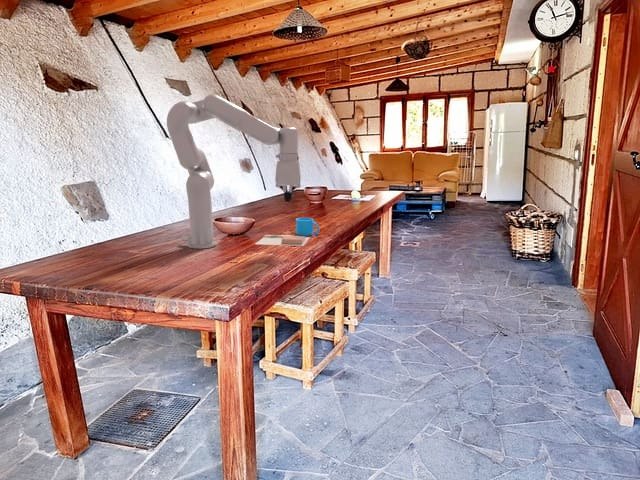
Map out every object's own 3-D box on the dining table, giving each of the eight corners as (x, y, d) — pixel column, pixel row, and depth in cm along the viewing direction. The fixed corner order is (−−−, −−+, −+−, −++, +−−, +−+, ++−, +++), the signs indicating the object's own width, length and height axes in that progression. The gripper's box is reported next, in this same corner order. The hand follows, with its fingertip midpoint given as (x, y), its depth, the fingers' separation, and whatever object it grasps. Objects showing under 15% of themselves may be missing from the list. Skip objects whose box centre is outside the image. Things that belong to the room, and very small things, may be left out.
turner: (262, 237, 213) (262, 236, 212) (265, 235, 217) (265, 234, 217) (297, 238, 210) (297, 237, 210) (299, 236, 215) (299, 235, 215)
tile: (281, 239, 200) (302, 239, 199) (284, 235, 207) (304, 236, 206) (281, 243, 201) (302, 244, 200) (284, 240, 208) (305, 240, 206)
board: (254, 246, 200) (254, 244, 200) (265, 238, 218) (265, 235, 217) (303, 248, 197) (303, 245, 197) (310, 239, 215) (310, 237, 214)
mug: (292, 236, 221) (292, 219, 219) (302, 233, 228) (301, 217, 226) (314, 239, 215) (314, 221, 214) (323, 236, 222) (323, 219, 221)
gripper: (268, 157, 193) (268, 201, 197) (304, 158, 191) (303, 203, 195) (273, 157, 201) (272, 199, 205) (307, 158, 199) (306, 201, 203)
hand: (288, 201), depth 200 cm, fingers closed
